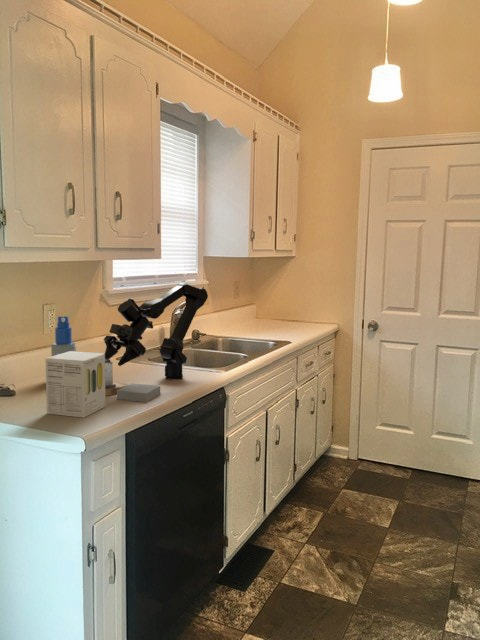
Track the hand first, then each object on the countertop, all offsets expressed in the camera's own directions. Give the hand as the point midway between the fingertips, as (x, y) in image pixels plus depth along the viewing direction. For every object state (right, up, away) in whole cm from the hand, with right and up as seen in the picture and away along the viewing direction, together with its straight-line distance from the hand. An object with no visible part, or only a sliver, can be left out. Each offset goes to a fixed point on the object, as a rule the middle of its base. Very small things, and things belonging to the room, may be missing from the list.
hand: (110, 363), depth 191 cm
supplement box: (-5, -13, -23) cm, 27 cm away
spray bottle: (-22, -8, +16) cm, 28 cm away
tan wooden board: (-1, -10, +1) cm, 10 cm away
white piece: (-2, -7, -1) cm, 8 cm away
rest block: (+11, -11, -6) cm, 17 cm away
